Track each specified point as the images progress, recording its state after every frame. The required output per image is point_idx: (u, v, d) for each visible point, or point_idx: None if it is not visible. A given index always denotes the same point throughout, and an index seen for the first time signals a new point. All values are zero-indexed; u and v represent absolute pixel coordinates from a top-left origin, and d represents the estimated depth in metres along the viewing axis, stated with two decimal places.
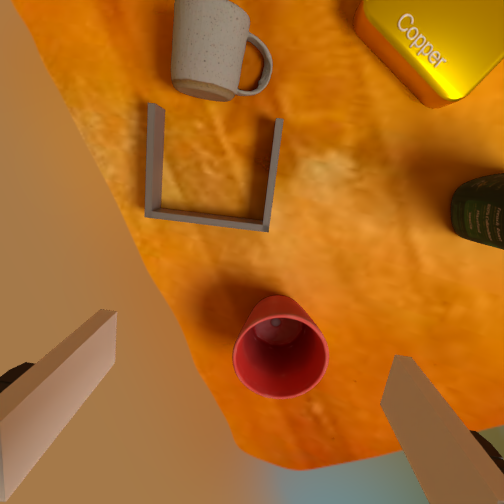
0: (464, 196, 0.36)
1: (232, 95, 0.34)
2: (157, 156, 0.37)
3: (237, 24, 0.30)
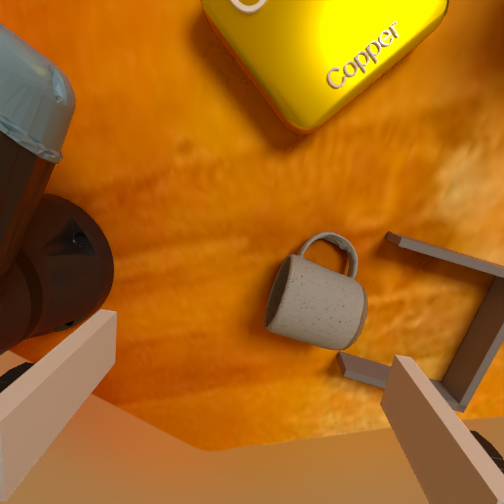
0: None
1: (363, 288, 0.29)
2: None
3: (306, 277, 0.27)
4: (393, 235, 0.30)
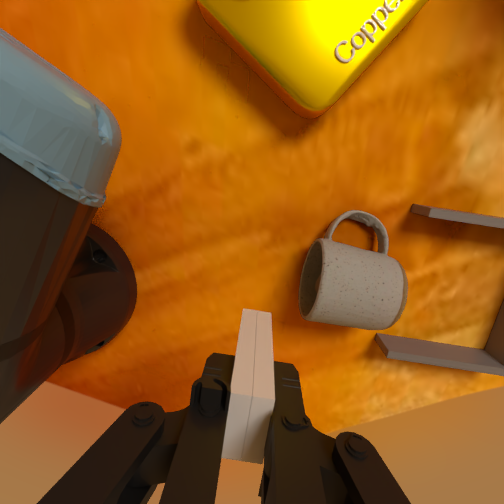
0: None
1: (399, 263, 0.28)
2: (437, 352, 0.32)
3: (341, 259, 0.26)
4: (420, 207, 0.29)
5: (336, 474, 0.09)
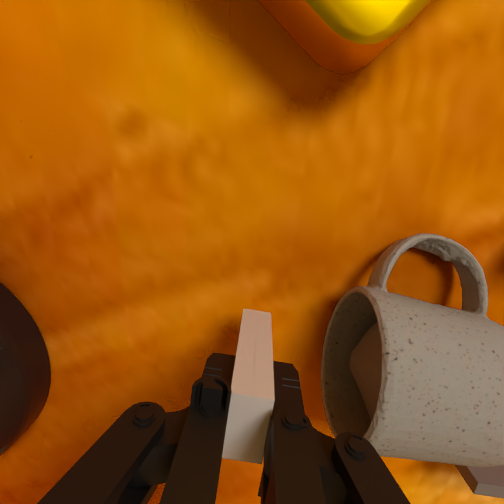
0: None
1: None
2: None
3: (420, 341, 0.13)
4: None
5: (336, 474, 0.09)
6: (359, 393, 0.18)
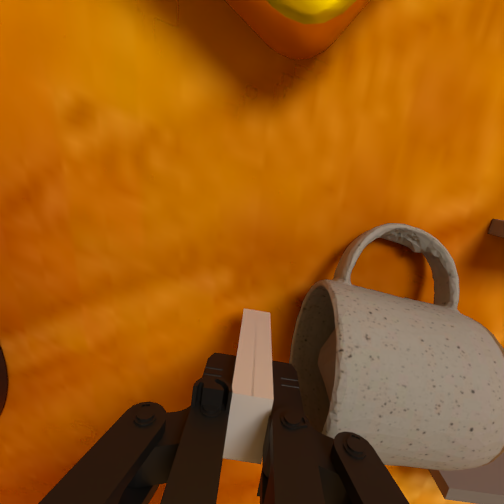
0: None
1: (488, 331, 0.14)
2: None
3: (377, 336, 0.12)
4: None
5: (335, 473, 0.09)
6: None
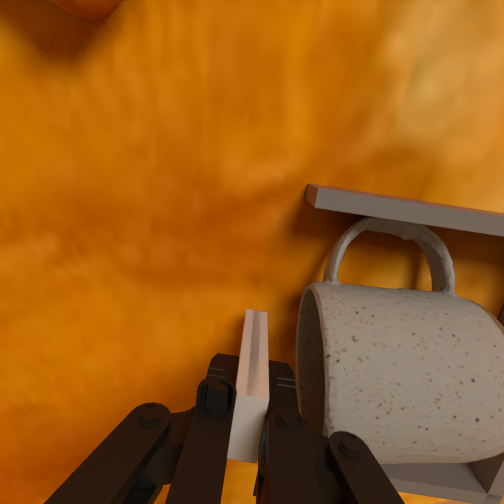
0: None
1: (489, 312, 0.13)
2: None
3: (365, 336, 0.12)
4: (311, 188, 0.15)
5: (330, 473, 0.09)
6: None
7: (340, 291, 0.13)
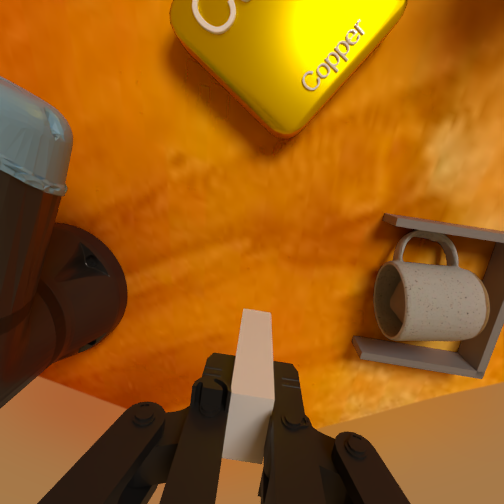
0: None
1: (473, 273, 0.29)
2: (410, 354, 0.34)
3: (420, 280, 0.28)
4: (389, 216, 0.31)
5: (336, 474, 0.09)
6: (398, 320, 0.33)
7: (405, 263, 0.30)
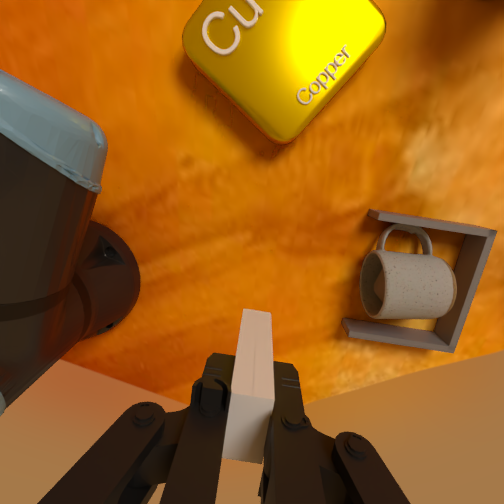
0: None
1: (444, 261, 0.34)
2: (392, 332, 0.38)
3: (398, 266, 0.32)
4: (373, 211, 0.35)
5: (336, 474, 0.09)
6: (380, 302, 0.38)
7: (386, 252, 0.34)
